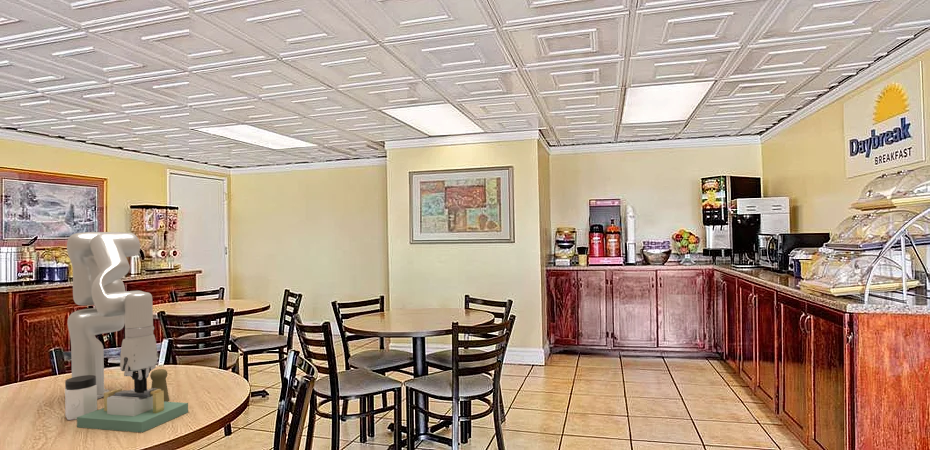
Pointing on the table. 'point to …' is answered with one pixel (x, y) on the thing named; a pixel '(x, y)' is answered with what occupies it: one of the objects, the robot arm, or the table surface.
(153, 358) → the robot arm
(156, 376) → the cork
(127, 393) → the strap
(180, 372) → the table surface
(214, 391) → the table surface
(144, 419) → the board
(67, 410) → the jar
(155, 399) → the lug
